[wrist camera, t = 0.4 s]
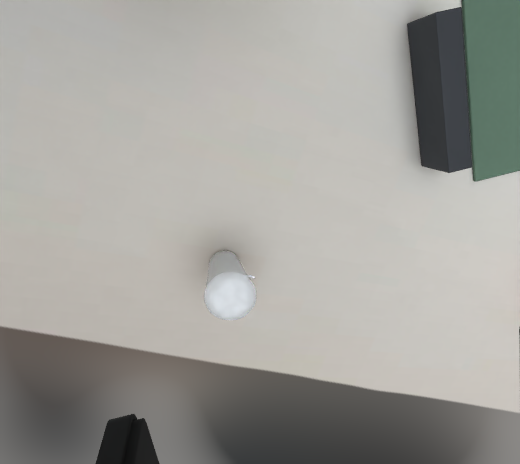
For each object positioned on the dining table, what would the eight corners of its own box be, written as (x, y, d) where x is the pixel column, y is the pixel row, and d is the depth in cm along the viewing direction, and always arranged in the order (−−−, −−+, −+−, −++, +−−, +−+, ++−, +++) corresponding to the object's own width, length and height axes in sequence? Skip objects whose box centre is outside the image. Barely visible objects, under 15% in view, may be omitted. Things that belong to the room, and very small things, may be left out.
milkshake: (258, 252, 46) (275, 290, 36) (229, 292, 47) (238, 339, 37) (223, 229, 45) (231, 262, 35) (194, 270, 45) (194, 313, 36)
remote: (406, 23, 42) (435, 12, 37) (431, 18, 42) (463, 6, 37) (421, 166, 46) (448, 173, 41) (443, 160, 46) (474, 166, 41)
